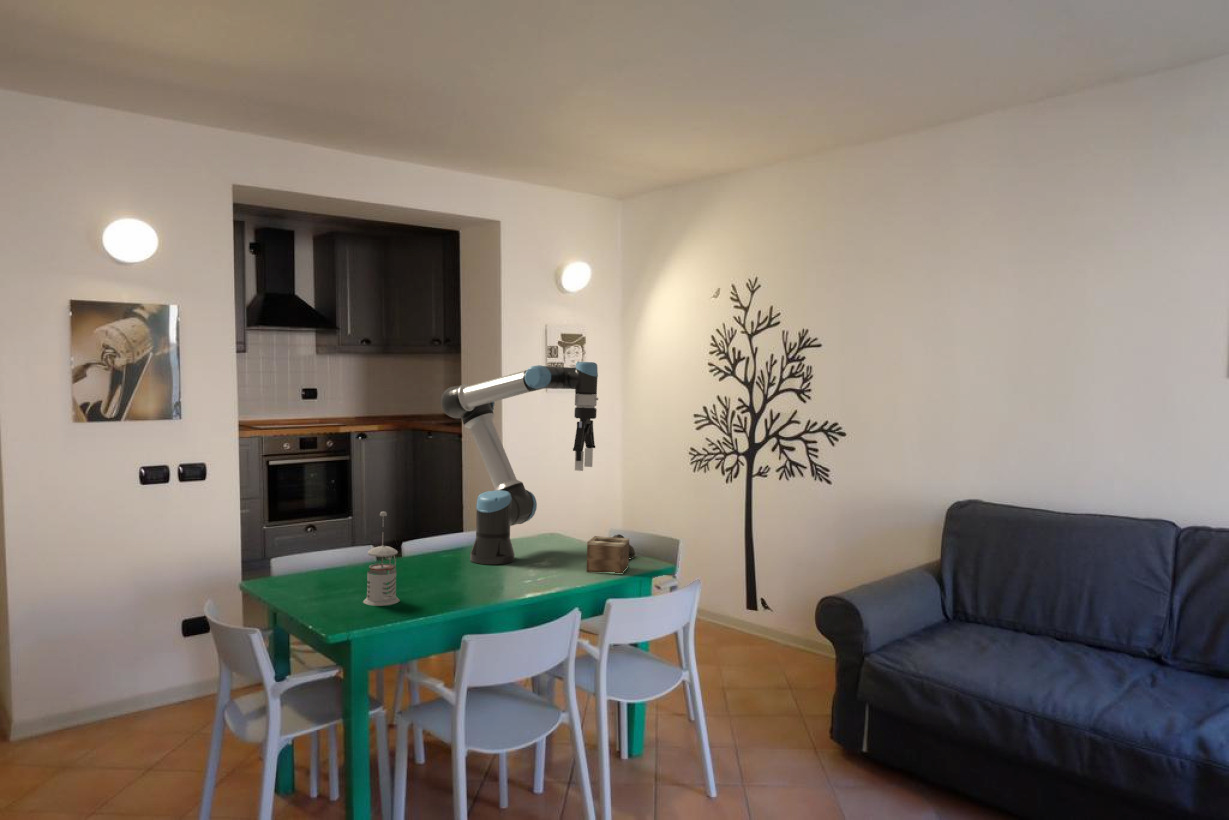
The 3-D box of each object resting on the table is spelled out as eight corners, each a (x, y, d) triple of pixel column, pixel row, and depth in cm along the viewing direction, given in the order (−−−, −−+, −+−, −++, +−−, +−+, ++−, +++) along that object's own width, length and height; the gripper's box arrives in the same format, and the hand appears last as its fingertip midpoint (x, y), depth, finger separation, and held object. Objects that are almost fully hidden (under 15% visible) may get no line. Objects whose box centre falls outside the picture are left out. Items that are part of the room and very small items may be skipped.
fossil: (635, 560, 289) (622, 534, 289) (612, 571, 290) (599, 545, 289) (636, 552, 300) (624, 528, 299) (614, 563, 301) (602, 539, 300)
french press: (356, 604, 225) (358, 513, 224) (376, 593, 236) (378, 507, 235) (390, 607, 223) (392, 515, 222) (408, 596, 234) (410, 509, 233)
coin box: (586, 572, 271) (587, 542, 270) (593, 565, 281) (594, 536, 281) (622, 575, 268) (623, 544, 268) (628, 567, 279) (629, 538, 279)
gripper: (587, 408, 269) (585, 472, 270) (604, 406, 293) (602, 465, 294) (565, 407, 271) (563, 471, 271) (583, 405, 295) (581, 464, 296)
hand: (583, 468), depth 283 cm, fingers open, 13 cm apart
